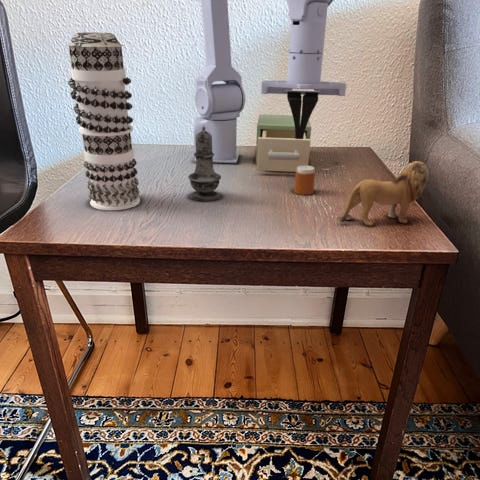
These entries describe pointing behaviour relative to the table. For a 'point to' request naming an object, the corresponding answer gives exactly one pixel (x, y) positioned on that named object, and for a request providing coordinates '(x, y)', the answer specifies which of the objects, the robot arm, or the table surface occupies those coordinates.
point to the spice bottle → (304, 180)
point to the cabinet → (277, 125)
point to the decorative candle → (104, 119)
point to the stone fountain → (204, 169)
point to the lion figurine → (389, 192)
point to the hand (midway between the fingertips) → (299, 138)
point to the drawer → (282, 151)
